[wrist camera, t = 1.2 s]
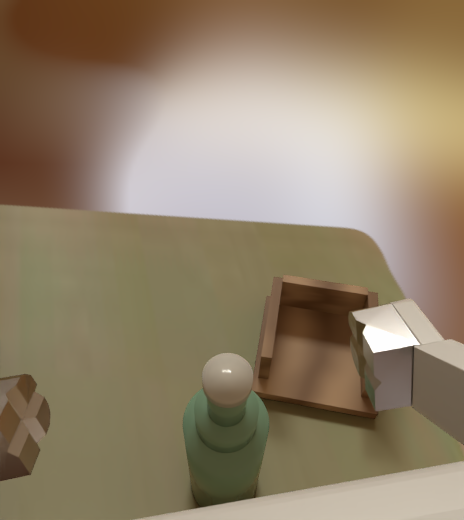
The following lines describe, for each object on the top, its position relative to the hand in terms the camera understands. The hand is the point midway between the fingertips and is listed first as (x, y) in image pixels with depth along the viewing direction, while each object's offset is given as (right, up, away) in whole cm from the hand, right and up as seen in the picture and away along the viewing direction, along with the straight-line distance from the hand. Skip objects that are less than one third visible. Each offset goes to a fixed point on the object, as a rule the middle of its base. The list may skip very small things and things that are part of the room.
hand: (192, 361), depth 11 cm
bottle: (0, -16, +25) cm, 30 cm away
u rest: (+10, -7, +34) cm, 36 cm away
